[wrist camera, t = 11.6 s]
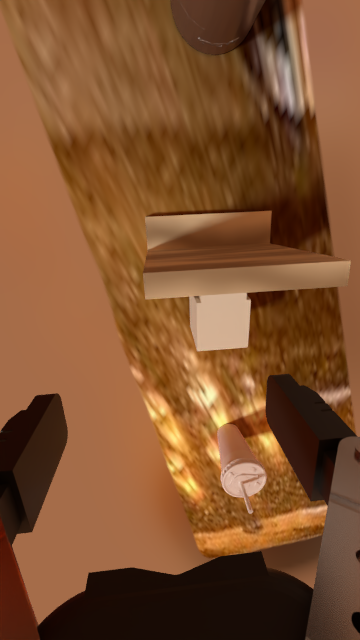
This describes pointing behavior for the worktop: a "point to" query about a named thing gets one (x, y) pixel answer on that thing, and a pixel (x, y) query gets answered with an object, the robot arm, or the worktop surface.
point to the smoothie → (239, 465)
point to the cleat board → (229, 258)
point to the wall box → (220, 321)
